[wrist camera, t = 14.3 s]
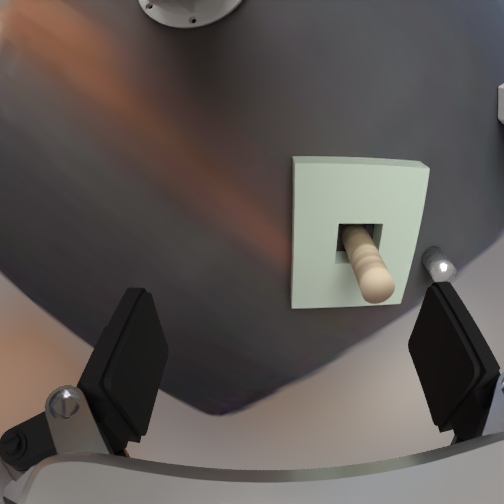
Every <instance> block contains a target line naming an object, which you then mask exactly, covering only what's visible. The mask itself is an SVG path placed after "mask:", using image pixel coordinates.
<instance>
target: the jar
mask: <svg viewBox="0 0 504 504" xmlns="http://www.w3.org/2000/svg"><path fill="white" fill-rule="evenodd" d="M498 119H499V120H500V121H501V122H502V123H503V124H504V84H502V85H500V86H499V87H498Z"/></svg>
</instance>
